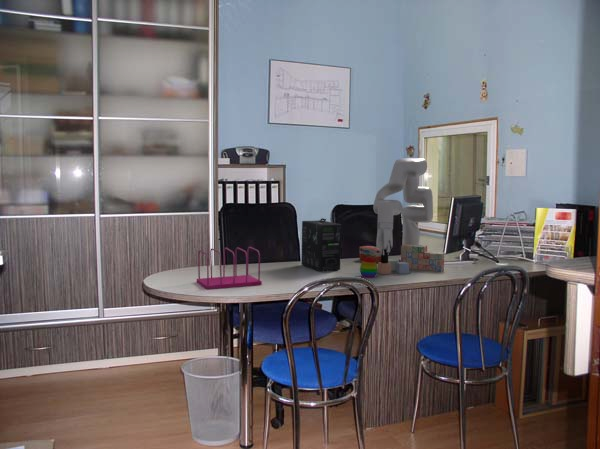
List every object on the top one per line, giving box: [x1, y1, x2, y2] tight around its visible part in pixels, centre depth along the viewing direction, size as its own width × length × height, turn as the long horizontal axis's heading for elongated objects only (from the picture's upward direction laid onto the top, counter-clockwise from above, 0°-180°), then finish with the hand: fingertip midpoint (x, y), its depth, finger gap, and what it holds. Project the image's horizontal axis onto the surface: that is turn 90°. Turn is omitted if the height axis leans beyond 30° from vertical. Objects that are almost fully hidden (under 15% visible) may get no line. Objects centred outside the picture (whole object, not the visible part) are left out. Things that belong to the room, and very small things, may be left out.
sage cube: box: [388, 258, 399, 271], centre depth 275 cm, size 5×5×5 cm
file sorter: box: [196, 246, 263, 290], centre depth 240 cm, size 17×25×16 cm
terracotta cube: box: [377, 262, 392, 275], centre depth 266 cm, size 5×5×5 cm
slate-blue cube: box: [395, 261, 410, 275], centre depth 267 cm, size 5×5×5 cm
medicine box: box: [359, 245, 381, 264], centre depth 305 cm, size 15×8×8 cm, turn 31°
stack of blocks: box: [400, 244, 445, 272], centre depth 280 cm, size 21×6×12 cm, turn 61°
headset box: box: [300, 217, 342, 273], centre depth 282 cm, size 22×12×26 cm, turn 26°
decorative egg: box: [359, 257, 378, 279], centre depth 256 cm, size 8×8×10 cm
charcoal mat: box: [376, 268, 411, 276], centre depth 271 cm, size 16×17×1 cm
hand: (384, 263), depth 266 cm, fingers closed
